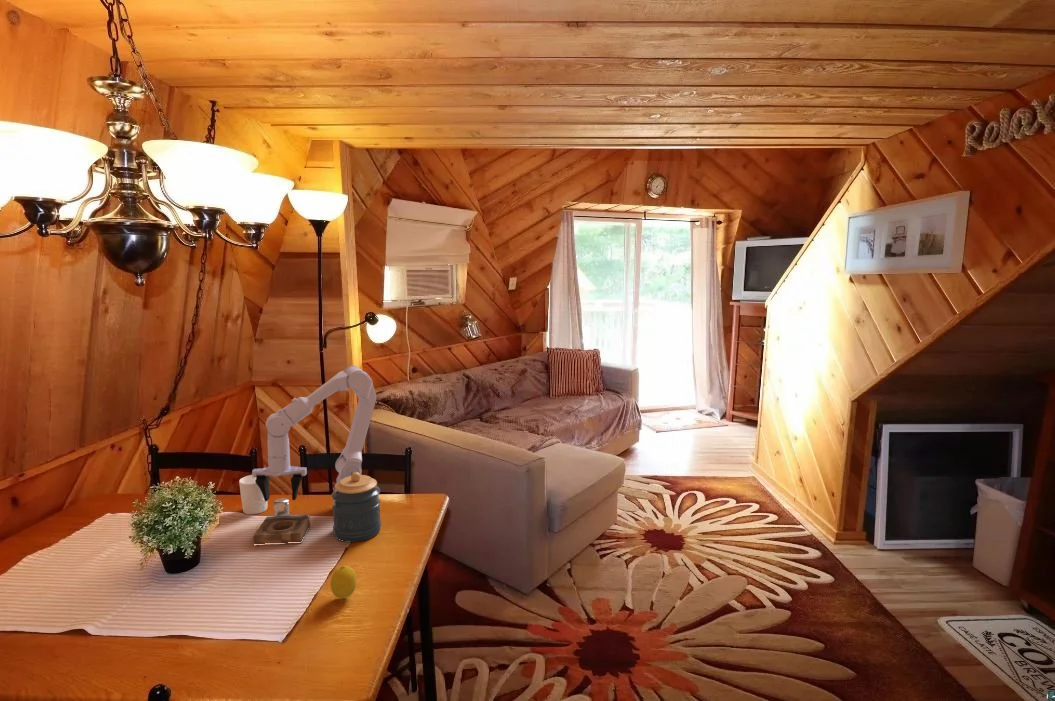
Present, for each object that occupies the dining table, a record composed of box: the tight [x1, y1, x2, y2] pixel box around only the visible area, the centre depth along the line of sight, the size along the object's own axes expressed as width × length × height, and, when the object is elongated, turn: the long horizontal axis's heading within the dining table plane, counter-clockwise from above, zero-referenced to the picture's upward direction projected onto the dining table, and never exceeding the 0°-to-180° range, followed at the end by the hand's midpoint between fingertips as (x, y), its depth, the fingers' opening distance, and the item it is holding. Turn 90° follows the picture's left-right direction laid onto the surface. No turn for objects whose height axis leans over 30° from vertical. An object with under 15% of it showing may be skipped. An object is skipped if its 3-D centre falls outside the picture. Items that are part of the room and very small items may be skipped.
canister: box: [331, 472, 382, 543], centre depth 151 cm, size 13×13×18 cm
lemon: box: [330, 564, 357, 600], centre depth 121 cm, size 6×6×8 cm
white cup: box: [238, 474, 269, 515], centre depth 164 cm, size 8×8×10 cm
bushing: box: [273, 497, 291, 516], centre depth 158 cm, size 4×4×6 cm
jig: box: [252, 514, 311, 545], centre depth 149 cm, size 12×10×4 cm
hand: (280, 499), depth 158 cm, fingers open, 7 cm apart
